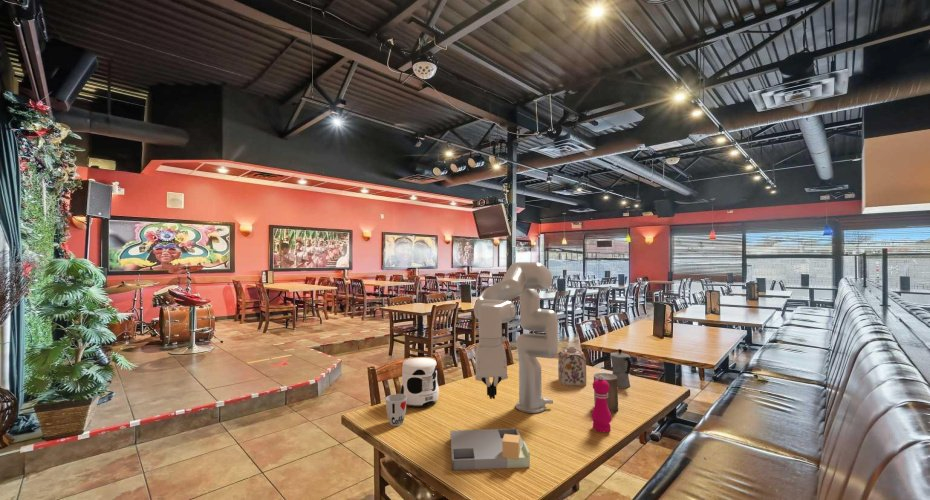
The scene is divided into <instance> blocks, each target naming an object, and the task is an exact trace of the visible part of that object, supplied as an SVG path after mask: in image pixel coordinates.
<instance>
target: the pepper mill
mask: <svg viewBox="0 0 930 500" xmlns="http://www.w3.org/2000/svg"><path fill="white" fill-rule="evenodd" d="M598 378H599V379H597V380H595V381H594V380H593V383H592V388H593V394H594V395H593V396H595V398H596V403H595V402H594V405H593V409H592V410H591V411H592V412H591V420H592V421H593V422H592V429H593V430H594V431H597V432H599V433H608V432H609V433H610V431H611V429H612V428H611V424H610V423H611V422H612V421H613V419H612V412H610V410H609V408H608V405H607V398H608V393H607V392H608V391H609V384H608V382H607V381H606V380H603V376H602V375H600V376H599V377H598ZM594 390H595V392H594Z"/></svg>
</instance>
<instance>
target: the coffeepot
mask: <svg viewBox="0 0 930 500" xmlns="http://www.w3.org/2000/svg"><path fill="white" fill-rule="evenodd" d="M617 350H618V352H611V353H610V361H611V366H612V373H611V374H613V375H616V376H617V383H618V389H619V388H621V389H627V388H630V387H631V383H630V376H629V374H630V370H631V364H632V361H631V359H630V358H631V357H630V354H627V353H624V352H622V351H623V350H622V349H620V348H619V349H617Z"/></svg>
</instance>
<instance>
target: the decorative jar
mask: <svg viewBox="0 0 930 500" xmlns="http://www.w3.org/2000/svg"><path fill="white" fill-rule="evenodd" d="M558 352H559V353H557V357H558V358H557V360H558V363H557V364H558V366H557V368H558V369H557V370H558V372H557V373H558V380H559V381H560V383H561V384H562V386H563V387H567V386H568V387H586V386H587V359H586V356H585V353H584V352H583V351H582V350H579V349H577V347H576V346H568V347H566V348H565V349H562V350H560V351H558Z"/></svg>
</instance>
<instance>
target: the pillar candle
mask: <svg viewBox="0 0 930 500" xmlns="http://www.w3.org/2000/svg"><path fill="white" fill-rule="evenodd" d="M600 375H602V376H603V380H606V381H607V382H608V384H609V391H608V392H607V393H608V398H607V405H608V408H609V410H610V413H615V412H618V411H619V390H618V389H619V387H618V383H617V376H616V375H613V374H612V373H607V372H597V373H594V374H593V382H594V381H595V380H597V379H599V378H598V377H599V376H600ZM594 392H595V390H594V389H593V393H594ZM593 396H594V395H593ZM595 403H596V398H595V396H594V404H595Z"/></svg>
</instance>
